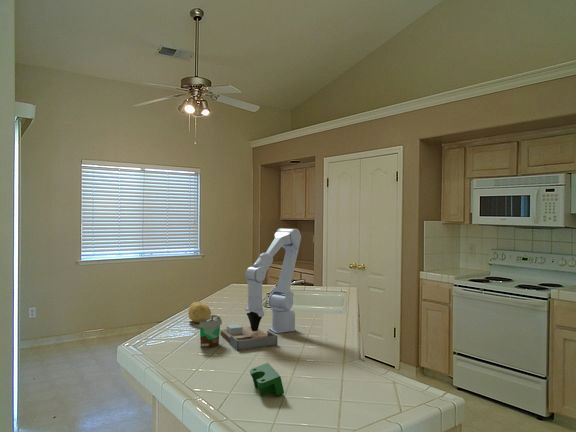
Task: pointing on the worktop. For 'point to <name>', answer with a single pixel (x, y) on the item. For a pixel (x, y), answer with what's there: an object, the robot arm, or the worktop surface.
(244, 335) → the walnut board
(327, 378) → the worktop surface
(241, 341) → the tray
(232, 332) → the pale blue block
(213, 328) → the food container
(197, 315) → the potato
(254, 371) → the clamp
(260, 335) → the terracotta tile
